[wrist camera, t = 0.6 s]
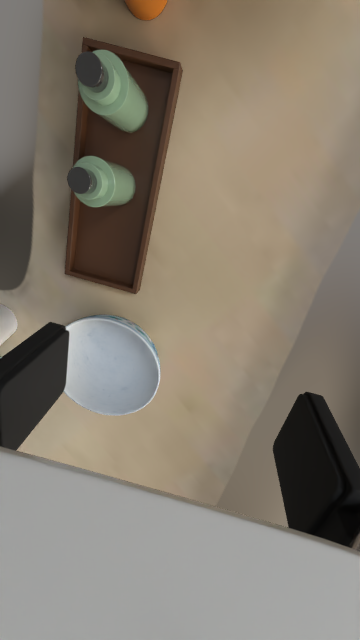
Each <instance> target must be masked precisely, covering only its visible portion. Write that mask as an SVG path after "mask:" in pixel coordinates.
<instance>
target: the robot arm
mask: <svg viewBox="0 0 360 640" xmlns="http://www.w3.org/2000/svg"><path fill="white" fill-rule="evenodd" d="M68 348H69V331H68V330H66V327H65V326H63V325H60V324H56V323H52V322H50V323H48V324H46V325H45V326H44V327H42V328H41V329H40V330H38V331H37V332H36V333H34V334H33V335H31V336H30V337H29V338H27V339H26V340H25V341H23V342H22V343H21V344H19V345H18V346H17V347H15V348H14V349H13V350H11V351H10V352H8V353H7V354H6V355H4V356H3V357H2V358H0V640H360V468H359V466H358V464H357V462H356V460H355V459H354V457H353V454H352V453H351V451H350V449H349V447H348V445H347V443H346V441H345V439H344V437H343V435H342V433H341V431H340V429H339V427H338V425H337V423H336V421H335V419H334V417H333V415H332V413H331V412H330V410H329V407H328V405H327V404H326V402H325V400H324V398H323V396H321V395H317V394H314V393H309V392H305V393H304V394H300V395H299V396H298V398H297V400H296V401H295V403H294V405H293V407H292V409H291V411H290V413H289V415H288V417H287V419H286V421H285V423H284V424H283V426H282V428H281V430H280V432H279V434H278V436H277V438H276V440H275V442H274V445H273V453H274V458H275V463H276V468H277V472H278V477H279V482H280V487H281V492H282V497H283V502H284V507H285V511H286V516H287V521H288V526H289V528H288V527H284V526H281V525H278V524H274V523H271V522H267V521H264V520H260V519H257V518H254V517H250V516H247V515H243V514H240V513H236V512H233V511H230V510H226V509H223V508H219V507H216V506H212V505H209V504H206V503H202V502H199V501H195V500H192V499H188V498H185V497H181V496H178V495H174V494H171V493H167V492H164V491H160V490H157V489H153V488H149V487H146V486H142V485H139V484H135V483H132V482H128V481H125V480H121V479H118V478H114V477H111V476H107V475H103V474H100V473H96V472H93V471H89V470H85V469H82V468H78V467H75V466H71V465H67V464H64V463H60V462H57V461H53V460H49V459H46V458H42V457H38V456H35V455H31V454H27V453H23V452H19V451H16V450H17V449H18V448H19V446H20V445H21V444H22V443H23V441H24V440H25V439H26V438H27V436H28V435H29V434H30V433H31V431H32V430H33V429H34V428H35V426H36V425H37V424H38V423H39V421H40V420H41V419H42V418H43V416H44V415H45V414H46V413H47V412H48V410H49V409H50V408H51V407H52V405H53V404H54V403H55V402H56V400H57V399H58V398H59V397H60V395H61V394H62V393H63V391H64V389H65V386H66V376H67V362H68Z"/></svg>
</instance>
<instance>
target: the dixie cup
mask: <svg viewBox="0 0 360 640" xmlns="http://www.w3.org/2000/svg"><path fill="white" fill-rule="evenodd" d="M17 326H18V323H17V319H16V317H15V315H14V313H13V312H12V311H11V310H10V309H9V308H8V307H6V306H4V305H2V304H0V345H1V344H2V343H4V342H5V341H6V340H7V339H8V338H9V337H10V336H11V335H12V334H13V333H15V331H16V330H17Z"/></svg>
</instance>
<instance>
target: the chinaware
mask: <svg viewBox="0 0 360 640" xmlns="http://www.w3.org/2000/svg"><path fill="white" fill-rule="evenodd" d="M66 330H68V331H69V348H68V362H67V376H66V386H65V389H64V391H63V392H64V393H65V394H66V395H67V396H68V397H69V398H70V399H72V400H73V401H74V402H76V403H77V404H79V405H80V406H82V407H84V408H86V409H88V410H90V411H93V412H96V413H100V414H104V415H125V414H130V413H133V412H136V411H138V410H140V409H141V408H143V407H144V406H146V405H147V404H148V403H149V402H150V401H151V400H152V398H153V397H154V395H155V394H156V392H157V389H158V386H159V382H160V363H159V357H158V354H157V351H156V348H155V346H154V344H153V342H152V340H151V339H150V337H149V336H148V335H147V334H146V333H145V331H144V330H142V329H141V328H140V327H139V326H138V325H136V324H135V323H133V322H131V321H129V320H127V319H125V318H122V317H119V316H114V315H93V316H88V317H85V318H82V319H79V320H76V321H74V322H72V323H70V324H68V325H67V326H66Z"/></svg>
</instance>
